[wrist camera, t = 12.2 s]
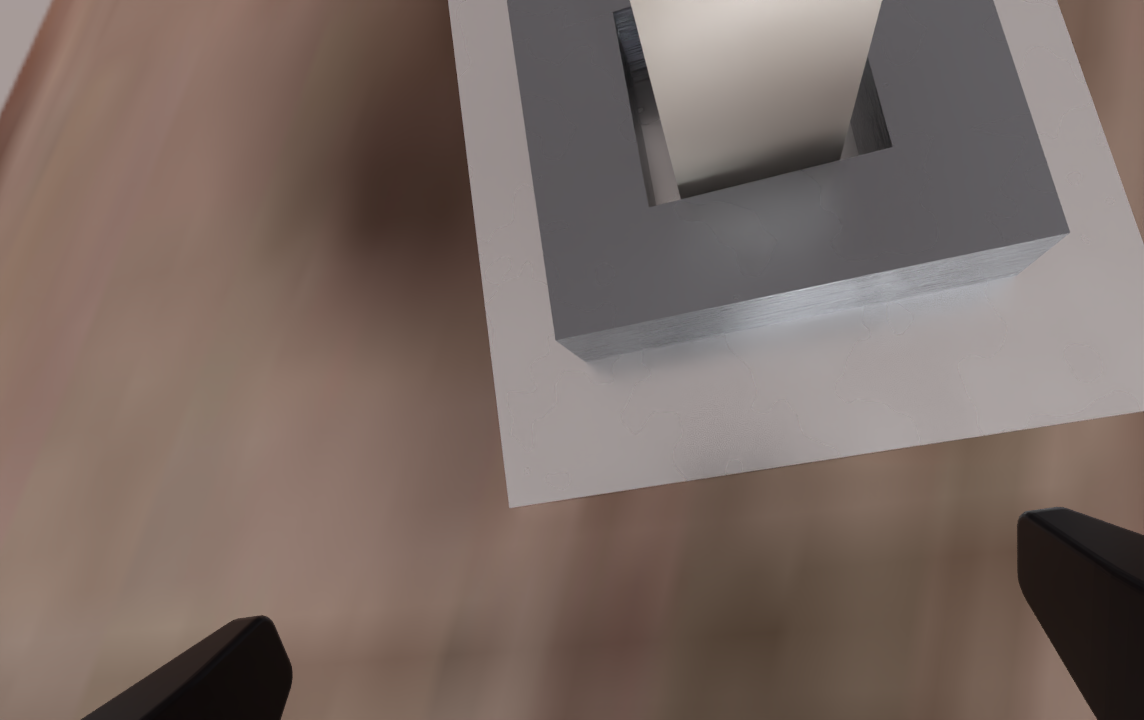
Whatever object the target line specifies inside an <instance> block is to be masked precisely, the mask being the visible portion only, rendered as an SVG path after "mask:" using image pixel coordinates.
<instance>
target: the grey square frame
mask: <svg viewBox="0 0 1144 720" xmlns="http://www.w3.org/2000/svg"><path fill="white" fill-rule="evenodd" d="M448 4H449V12H450V21H451V29H452V37H453V46H454V54H455V62H456V70H457V79H458V87H459V95H460V103H461V112H462V120H463V128H464V137H465V145H466V153H467V161H468V170H469V178H470V186H471V194H472V203H473V211H474V219H475V227H476V236H477V244H478V252H479V261H480V269H481V277H482V285H483V294H484V302H485V310H486V318H487V327H488V335H489V343H490V352H491V360H492V368H493V376H494V385H495V393H496V401H497V409H498V418H499V426H500V434H501V442H502V451H503V459H504V467H505V476H506V484H507V492H508V500H509V508H514V507H522V506H529V505H535V504H542V503H548V502H555V501H561V500H568V499H574V498H581V497H587V496H594V495H601V494H607V493H614V492H620V491H627V490H633V489H640V488H646V487H653V486H659V485H666V484H673V483H679V482H686V481H692V480H699V479H705V478H712V477H718V476H725V475H731V474H738V473H745V472H751V471H758V470H764V469H771V468H777V467H784V466H790V465H797V464H803V463H810V462H817V461H823V460H830V459H836V458H843V457H849V456H856V455H862V454H869V453H875V452H882V451H889V450H895V449H902V448H908V447H915V446H921V445H928V444H934V443H941V442H947V441H954V440H961V439H967V438H974V437H980V436H987V435H993V434H1000V433H1006V432H1013V431H1019V430H1026V429H1033V428H1039V427H1046V426H1052V425H1059V424H1065V423H1072V422H1078V421H1085V420H1091V419H1098V418H1105V417H1111V416H1118V415H1124V414H1131V413H1137V412H1144V244H1143V241H1142V238H1141V236H1140V233H1139V230H1138V227H1137V224H1136V221H1135V219H1134V216H1133V213H1132V210H1131V207H1130V205H1129V202H1128V199H1127V196H1126V193H1125V191H1124V188H1123V185H1122V182H1121V179H1120V177H1119V174H1118V171H1117V168H1116V165H1115V162H1114V160H1113V157H1112V154H1111V151H1110V148H1109V146H1108V143H1107V140H1106V137H1105V134H1104V132H1103V129H1102V126H1101V123H1100V120H1099V117H1098V115H1097V112H1096V109H1095V106H1094V103H1093V101H1092V98H1091V95H1090V92H1089V89H1088V87H1087V84H1086V81H1085V78H1084V75H1083V72H1082V70H1081V67H1080V64H1079V61H1078V58H1077V56H1076V53H1075V50H1074V47H1073V44H1072V42H1071V39H1070V36H1069V33H1068V30H1067V27H1066V25H1065V22H1064V19H1063V16H1062V13H1061V11H1060V8H1059V5H1058V2H1057V0H882V3H881V7H880V10H879V14H878V18H877V22H876V25H875V29H874V33H873V37H872V41H871V44H870V48H869V52H868V56H867V60H866V63H865V67H864V71H863V75H862V78H861V82H860V86H859V90H858V94H857V97H856V101H855V105H854V109H853V113H852V116H851V120H850V124H849V128H848V132H847V135H846V139H845V143H844V147H843V150H842V154H841V158H840V160H838V161H834V162H830V163H826V164H822V165H818V166H814V167H810V168H806V169H802V170H798V171H794V172H790V173H786V174H782V175H778V176H774V177H770V178H766V179H762V180H758V181H753V182H749V183H745V184H741V185H737V186H733V187H729V188H725V189H721V190H717V191H713V192H709V193H705V194H701V195H697V196H693V197H689V198H685V199H681V198H680V194H679V190H678V186H677V182H676V178H675V175H674V171H673V167H672V163H671V159H670V155H669V151H668V147H667V143H666V139H665V136H664V132H663V128H662V124H661V120H660V116H659V112H658V108H657V104H656V100H655V97H654V93H653V89H652V85H651V81H650V77H649V73H648V69H647V65H646V61H645V58H644V54H643V50H642V46H641V42H640V38H639V34H638V30H637V26H636V22H635V19H634V15H633V11H632V7H631V3H630V0H448Z"/></svg>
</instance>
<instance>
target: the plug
mask: <svg viewBox="0 0 1144 720" xmlns="http://www.w3.org/2000/svg"><path fill="white" fill-rule="evenodd" d="M630 3H631V7H632V11H633V15H634V19H635V22H636V26H637V30H638V34H639V38H640V42H641V46H642V50H643V54H644V58H645V61H646V65H647V69H648V73H649V77H650V81H651V85H652V89H653V93H654V97H655V100H656V104H657V108H658V112H659V116H660V120H661V124H662V128H663V132H664V136H665V139H666V143H667V147H668V151H669V155H670V159H671V163H672V167H673V171H674V175H675V178H676V182H677V186H678V190H679V194H680V198H681V199H685V198H689V197H693V196H697V195H701V194H705V193H709V192H713V191H717V190H721V189H725V188H729V187H733V186H737V185H741V184H745V183H749V182H753V181H758V180H762V179H766V178H770V177H774V176H778V175H782V174H786V173H790V172H794V171H798V170H802V169H806V168H810V167H814V166H818V165H822V164H826V163H830V162H834V161H838V160H840V158H841V154H842V150H843V147H844V143H845V139H846V135H847V132H848V128H849V124H850V120H851V116H852V113H853V109H854V105H855V101H856V97H857V94H858V90H859V86H860V82H861V78H862V75H863V71H864V67H865V63H866V60H867V56H868V52H869V48H870V44H871V41H872V37H873V33H874V29H875V25H876V22H877V18H878V14H879V10H880V7H881V3H882V0H630Z"/></svg>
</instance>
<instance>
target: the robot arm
mask: <svg viewBox="0 0 1144 720" xmlns="http://www.w3.org/2000/svg"><path fill="white" fill-rule="evenodd" d="M1017 572H1018V580H1019V584H1020V587H1021V590H1022V593H1023V595H1024V597H1025V599H1026V601H1027V602H1028V604H1029V606H1030V607H1031V609H1032V611H1033V612H1034V614H1035V616H1036V617H1037V619H1038V621H1039V622H1040V624H1041V626H1042V628H1043V629H1044V631H1045V633H1046V634H1047V636H1048V638H1049V639H1050V641H1051V643H1052V644H1053V646H1054V648H1055V649H1056V651H1057V653H1058V655H1059V656H1060V658H1061V660H1062V661H1063V663H1064V665H1065V666H1066V668H1067V670H1068V671H1069V673H1070V675H1071V677H1072V678H1073V680H1074V682H1075V683H1076V685H1077V687H1078V688H1079V690H1080V692H1081V693H1082V695H1083V697H1084V698H1085V700H1086V702H1087V704H1088V705H1089V707H1090V709H1091V710H1092V712H1093V713H1094V715H1095V716H1096V718H1097V720H1144V535H1142V534H1139V533H1136V532H1133V531H1130V530H1127V529H1125V528H1122V527H1119V526H1116V525H1113V524H1110V523H1107V522H1105V521H1102V520H1099V519H1096V518H1093V517H1090V516H1087V515H1085V514H1082V513H1079V512H1076V511H1073V510H1070V509H1067V508H1064V507H1053V508H1046V509H1039V510H1032V511H1026V512H1024V513H1023V514H1022V515H1020V516H1019V519H1018V524H1017ZM292 678H293V677H292V666H291V663H290V660H289V658H288V656H287V653H286V651H285V648H284V646H283V644H282V641H281V639H280V637H279V634H278V632H277V630H276V627H275V625H274V623H273V621H272V620H271V619H270V618H268V617H266V616H263V615H261V616H253V617H246V618H239V619H235V620H233V621H231V622H229V623H228V624H226V625H225V626H223V627H222V628H220V629H218V630H217V631H215V632H214V633H212V634H211V635H209V636H208V637H206V638H205V639H203V640H202V641H200V642H199V643H197V644H196V645H194V646H192V647H191V648H189V649H188V650H186V651H185V652H183V653H182V654H180V655H179V656H177V657H176V658H174V659H173V660H171V661H170V662H168V663H167V664H165V665H163V666H162V667H160V668H159V669H157V670H156V671H154V672H153V673H151V674H150V675H148V676H147V677H145V678H144V679H142V680H141V681H139V682H137V683H136V684H134V685H133V686H131V687H130V688H128V689H127V690H125V691H124V692H122V693H121V694H119V695H118V696H116V697H115V698H113V699H112V700H110V701H108V702H107V703H105V704H104V705H102V706H101V707H99V708H98V709H96V710H95V711H93V712H92V713H90V714H89V715H87V716H86V717H84V718H82V719H81V720H281V717H282V714H283V710H284V707H285V704H286V701H287V698H288V695H289V692H290V689H291V685H292Z"/></svg>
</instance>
